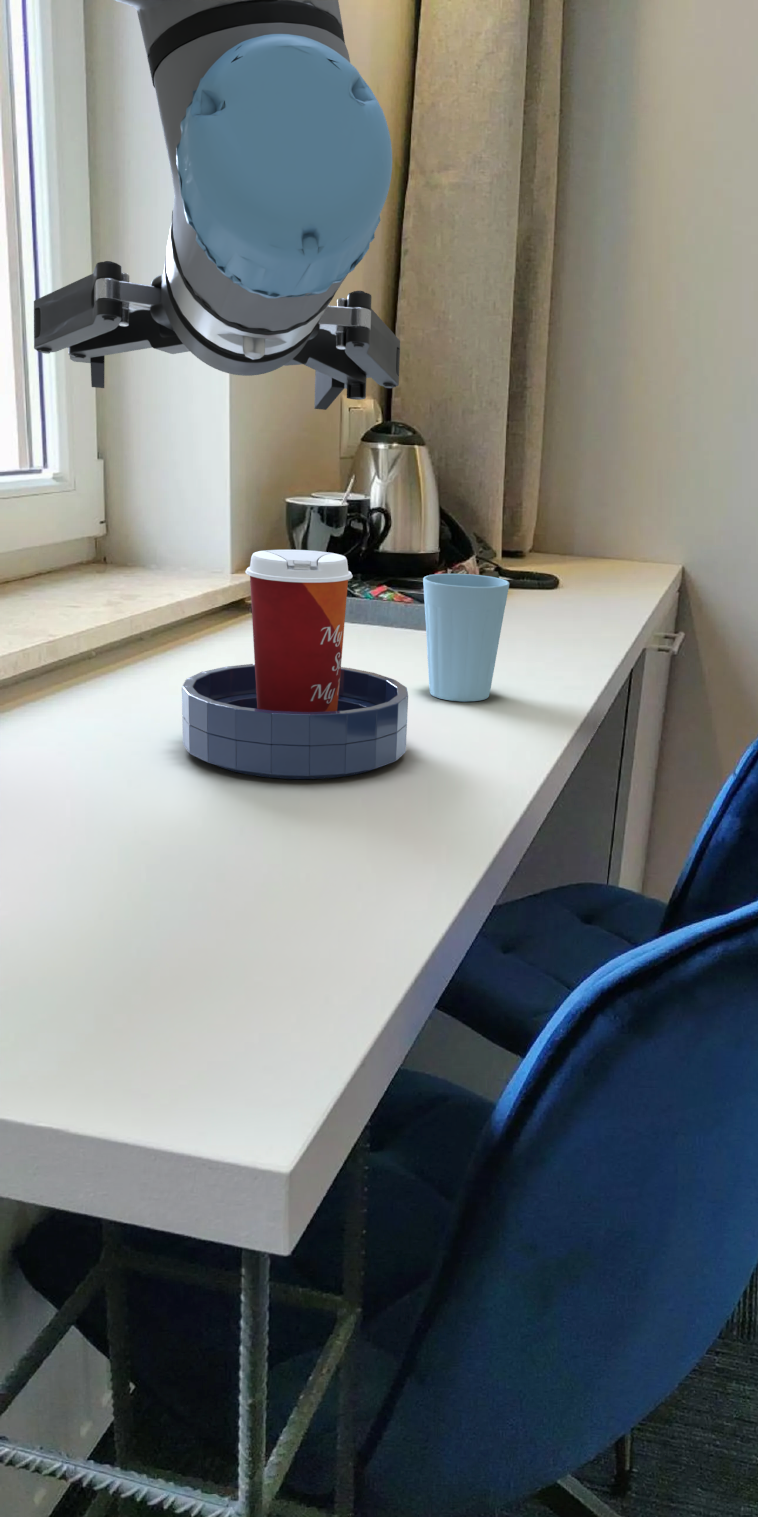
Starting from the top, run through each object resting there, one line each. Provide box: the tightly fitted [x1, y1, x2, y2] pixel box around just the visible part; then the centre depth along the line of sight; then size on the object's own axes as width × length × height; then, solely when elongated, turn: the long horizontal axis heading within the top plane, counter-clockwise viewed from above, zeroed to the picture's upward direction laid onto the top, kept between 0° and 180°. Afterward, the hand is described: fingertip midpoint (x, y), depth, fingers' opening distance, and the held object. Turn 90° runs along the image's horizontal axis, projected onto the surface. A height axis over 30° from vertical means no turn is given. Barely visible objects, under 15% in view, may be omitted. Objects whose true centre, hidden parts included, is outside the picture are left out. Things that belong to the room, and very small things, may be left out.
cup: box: [422, 573, 510, 702], centre depth 117 cm, size 8×8×10 cm
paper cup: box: [245, 549, 353, 712], centre depth 95 cm, size 8×8×14 cm
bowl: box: [181, 663, 409, 780], centre depth 97 cm, size 17×17×5 cm
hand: (211, 376), depth 80 cm, fingers open, 13 cm apart
